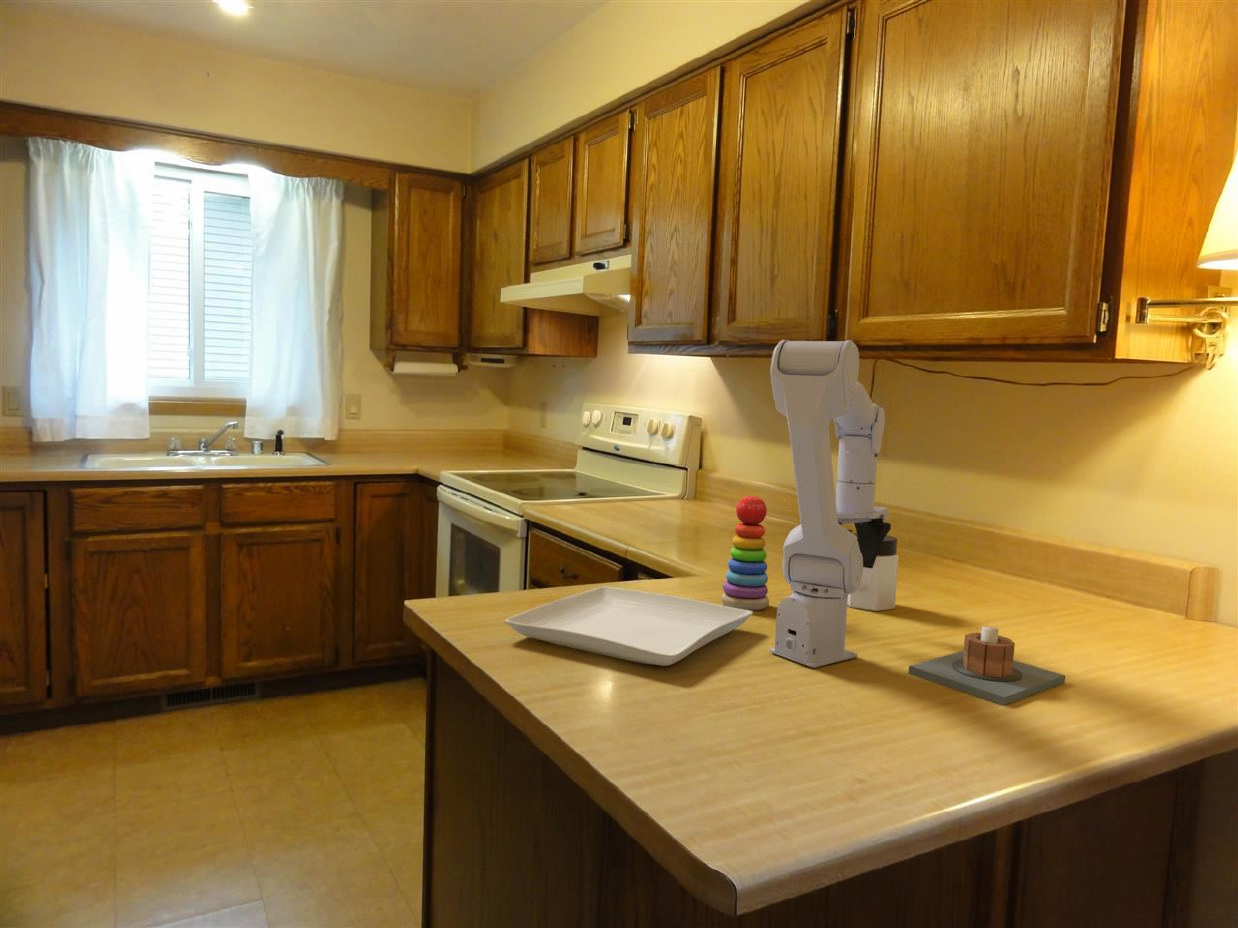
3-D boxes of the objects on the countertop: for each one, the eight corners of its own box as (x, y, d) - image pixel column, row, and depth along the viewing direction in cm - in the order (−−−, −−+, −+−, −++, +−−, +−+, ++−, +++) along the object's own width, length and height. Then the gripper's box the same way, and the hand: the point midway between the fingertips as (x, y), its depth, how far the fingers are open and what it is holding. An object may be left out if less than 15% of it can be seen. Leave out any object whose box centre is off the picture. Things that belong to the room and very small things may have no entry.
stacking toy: (768, 614, 138) (774, 500, 136) (719, 609, 139) (724, 497, 137) (769, 602, 145) (775, 494, 144) (723, 598, 147) (728, 491, 145)
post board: (1003, 705, 100) (1008, 651, 100) (908, 673, 111) (912, 624, 110) (1064, 682, 109) (1069, 633, 109) (971, 655, 120) (975, 609, 119)
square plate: (754, 633, 128) (756, 608, 127) (672, 684, 104) (674, 653, 104) (603, 603, 141) (603, 581, 141) (500, 643, 118) (501, 616, 118)
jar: (836, 605, 145) (840, 536, 144) (848, 596, 152) (852, 530, 151) (889, 614, 140) (894, 543, 139) (899, 604, 148) (904, 536, 146)
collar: (995, 679, 106) (998, 648, 106) (955, 666, 110) (957, 636, 110) (1019, 671, 109) (1021, 641, 109) (978, 659, 114) (981, 630, 113)
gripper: (847, 486, 121) (841, 579, 122) (907, 482, 129) (901, 569, 131) (808, 481, 126) (803, 570, 127) (869, 477, 135) (863, 561, 136)
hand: (850, 569), depth 129 cm, fingers open, 7 cm apart
